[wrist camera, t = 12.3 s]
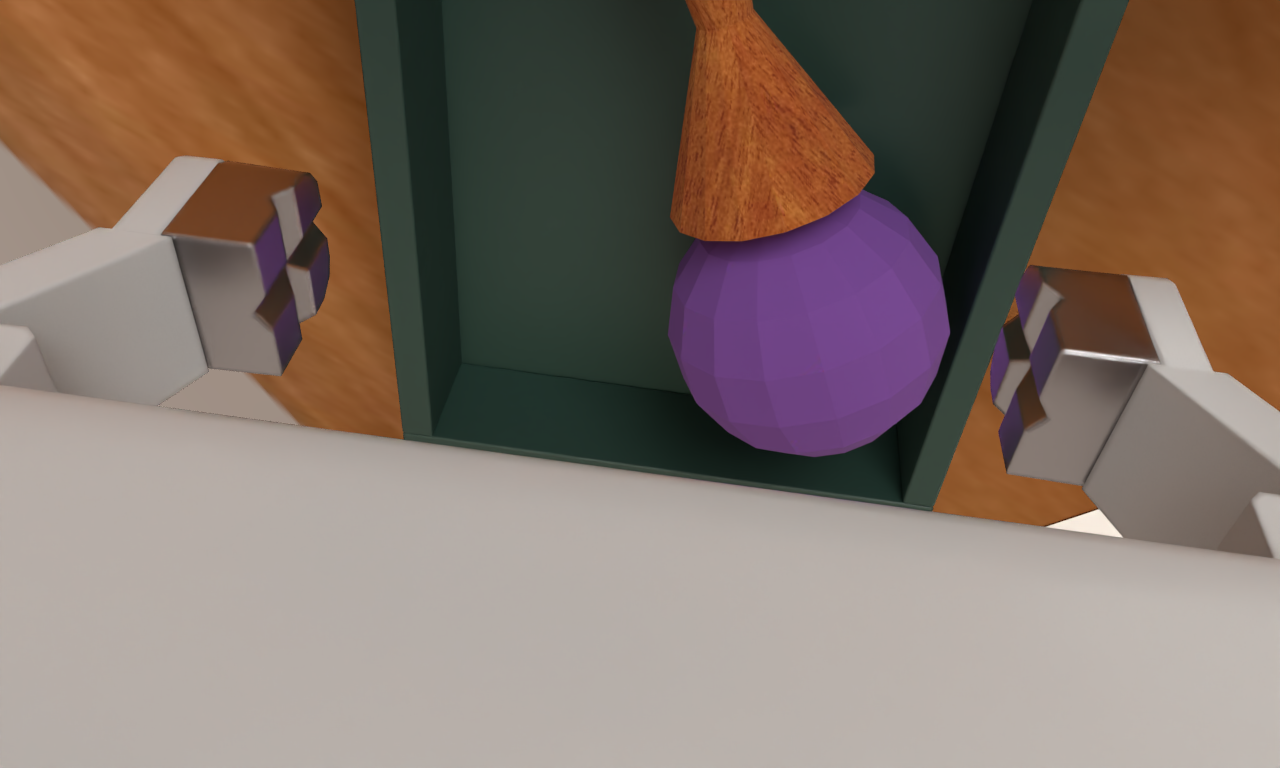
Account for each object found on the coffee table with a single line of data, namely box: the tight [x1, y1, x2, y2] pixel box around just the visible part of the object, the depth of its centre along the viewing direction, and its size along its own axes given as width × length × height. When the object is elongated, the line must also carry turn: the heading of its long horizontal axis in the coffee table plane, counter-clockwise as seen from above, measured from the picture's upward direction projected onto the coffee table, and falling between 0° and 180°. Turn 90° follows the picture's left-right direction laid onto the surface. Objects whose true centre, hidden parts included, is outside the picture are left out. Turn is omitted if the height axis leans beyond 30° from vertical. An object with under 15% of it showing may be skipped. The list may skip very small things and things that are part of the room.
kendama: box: [668, 0, 950, 457], centre depth 19 cm, size 6×6×20 cm
